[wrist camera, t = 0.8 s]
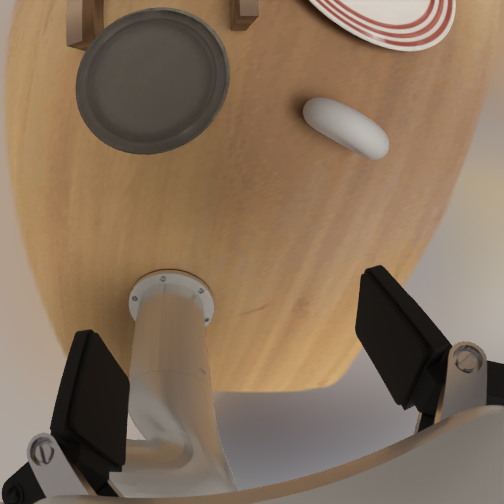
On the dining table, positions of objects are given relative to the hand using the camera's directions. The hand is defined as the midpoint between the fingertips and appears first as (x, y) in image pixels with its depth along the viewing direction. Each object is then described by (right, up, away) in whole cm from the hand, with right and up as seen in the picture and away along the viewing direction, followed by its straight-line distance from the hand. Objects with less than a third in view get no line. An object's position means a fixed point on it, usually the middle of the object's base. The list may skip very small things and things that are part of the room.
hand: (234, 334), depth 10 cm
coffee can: (-8, +21, +18) cm, 29 cm away
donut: (+10, +18, +23) cm, 31 cm away
